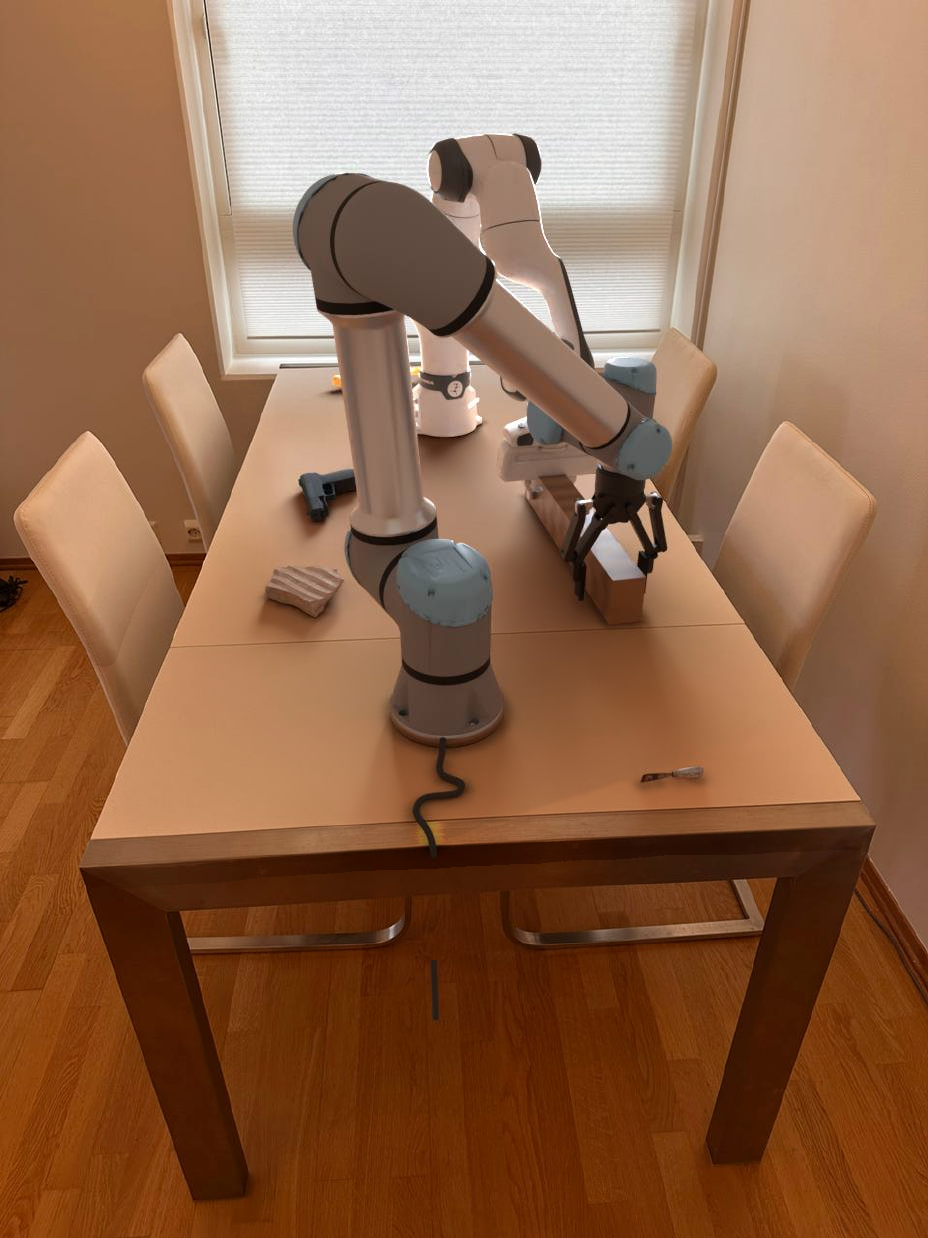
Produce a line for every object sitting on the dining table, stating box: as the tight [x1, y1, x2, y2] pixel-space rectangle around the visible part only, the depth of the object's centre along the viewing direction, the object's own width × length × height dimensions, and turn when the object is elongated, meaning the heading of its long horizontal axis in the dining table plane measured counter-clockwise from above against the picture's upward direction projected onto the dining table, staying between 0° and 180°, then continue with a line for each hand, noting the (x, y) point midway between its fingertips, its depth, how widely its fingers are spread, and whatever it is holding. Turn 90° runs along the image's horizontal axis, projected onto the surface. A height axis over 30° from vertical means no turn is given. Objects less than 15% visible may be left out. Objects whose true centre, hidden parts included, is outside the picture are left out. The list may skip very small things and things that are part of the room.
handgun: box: [298, 468, 357, 522], centre depth 178 cm, size 3×18×12 cm
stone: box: [264, 565, 345, 618], centre depth 147 cm, size 13×12×3 cm
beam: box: [524, 474, 647, 626], centre depth 159 cm, size 50×5×8 cm, turn 12°
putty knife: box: [640, 765, 705, 784], centre depth 109 cm, size 1×8×2 cm, turn 103°
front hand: (609, 593), depth 145 cm, fingers open, 10 cm apart
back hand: (547, 497), depth 174 cm, fingers closed on beam, 5 cm apart
